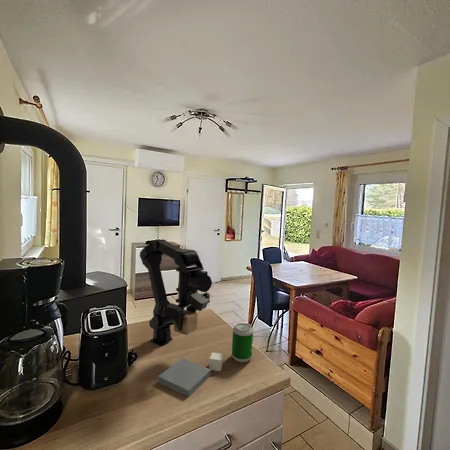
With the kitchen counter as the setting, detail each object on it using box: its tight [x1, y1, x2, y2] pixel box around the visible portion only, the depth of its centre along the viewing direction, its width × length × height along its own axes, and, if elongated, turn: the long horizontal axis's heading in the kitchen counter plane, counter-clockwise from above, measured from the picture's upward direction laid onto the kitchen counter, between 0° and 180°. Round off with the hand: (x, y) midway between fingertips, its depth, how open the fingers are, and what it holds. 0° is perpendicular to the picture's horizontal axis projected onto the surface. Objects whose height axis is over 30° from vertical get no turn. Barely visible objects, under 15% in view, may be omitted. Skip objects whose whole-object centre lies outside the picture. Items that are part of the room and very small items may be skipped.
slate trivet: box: [157, 357, 212, 398], centre depth 86 cm, size 12×12×2 cm
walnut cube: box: [173, 309, 198, 336], centre depth 98 cm, size 6×6×6 cm
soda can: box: [231, 322, 254, 363], centre depth 99 cm, size 8×8×12 cm
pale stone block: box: [208, 352, 224, 372], centre depth 93 cm, size 4×4×4 cm
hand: (185, 327), depth 98 cm, fingers closed on walnut cube, 6 cm apart
